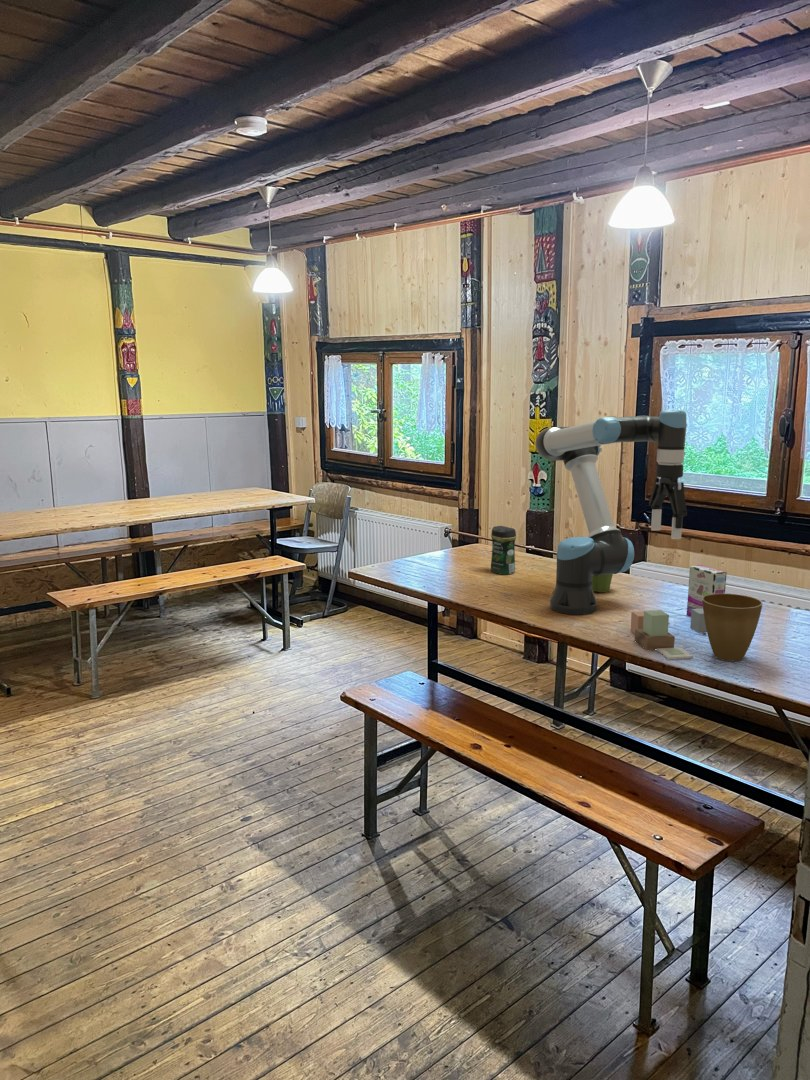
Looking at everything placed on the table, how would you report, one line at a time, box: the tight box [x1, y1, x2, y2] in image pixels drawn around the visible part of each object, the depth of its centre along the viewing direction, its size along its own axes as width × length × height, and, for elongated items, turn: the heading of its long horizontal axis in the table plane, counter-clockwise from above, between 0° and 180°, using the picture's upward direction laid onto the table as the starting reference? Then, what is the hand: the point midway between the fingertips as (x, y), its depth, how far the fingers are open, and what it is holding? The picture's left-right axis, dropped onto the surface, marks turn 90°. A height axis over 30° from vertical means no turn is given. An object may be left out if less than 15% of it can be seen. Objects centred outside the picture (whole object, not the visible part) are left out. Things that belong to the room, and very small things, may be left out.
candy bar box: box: [686, 564, 727, 618], centre depth 236 cm, size 11×5×16 cm, turn 21°
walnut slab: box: [634, 629, 676, 651], centre depth 214 cm, size 8×8×4 cm
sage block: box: [643, 609, 670, 636], centre depth 213 cm, size 5×5×6 cm
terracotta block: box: [630, 610, 645, 634], centre depth 225 cm, size 5×5×6 cm
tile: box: [656, 646, 694, 660], centre depth 207 cm, size 7×7×1 cm
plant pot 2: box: [702, 593, 763, 662], centre depth 203 cm, size 15×15×16 cm
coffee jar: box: [490, 525, 517, 575], centre depth 298 cm, size 10×8×19 cm
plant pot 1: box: [592, 574, 614, 593], centre depth 272 cm, size 12×12×11 cm
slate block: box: [689, 609, 707, 634], centre depth 227 cm, size 5×5×6 cm
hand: (665, 534), depth 225 cm, fingers open, 13 cm apart
